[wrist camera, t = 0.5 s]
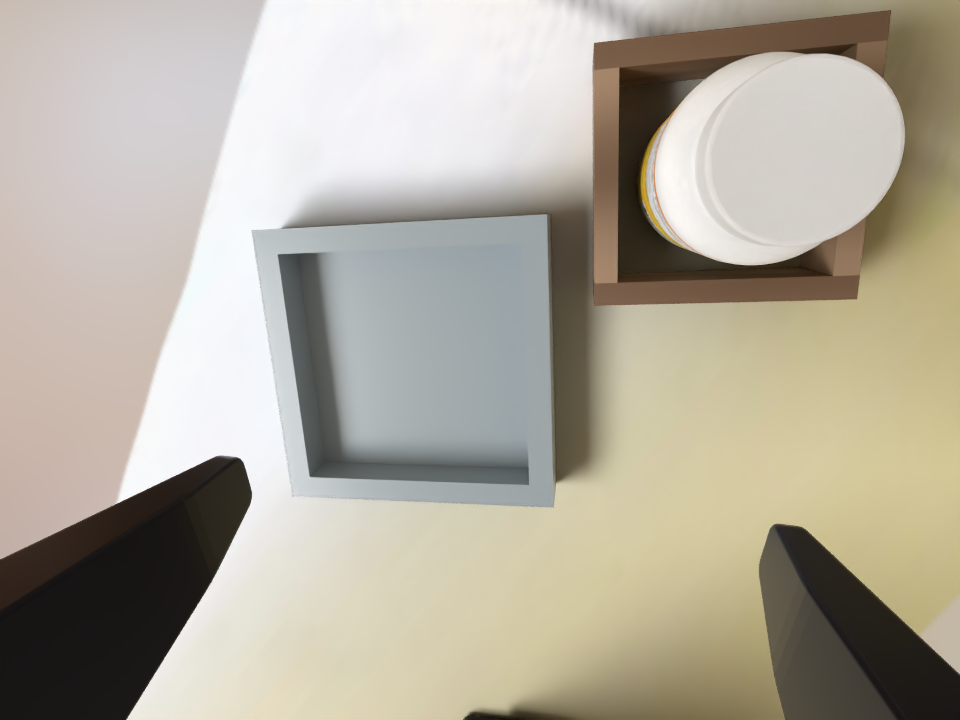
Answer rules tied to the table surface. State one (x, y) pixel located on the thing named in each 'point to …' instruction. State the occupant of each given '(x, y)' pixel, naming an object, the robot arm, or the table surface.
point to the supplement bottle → (772, 157)
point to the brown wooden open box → (697, 57)
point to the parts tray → (414, 358)
